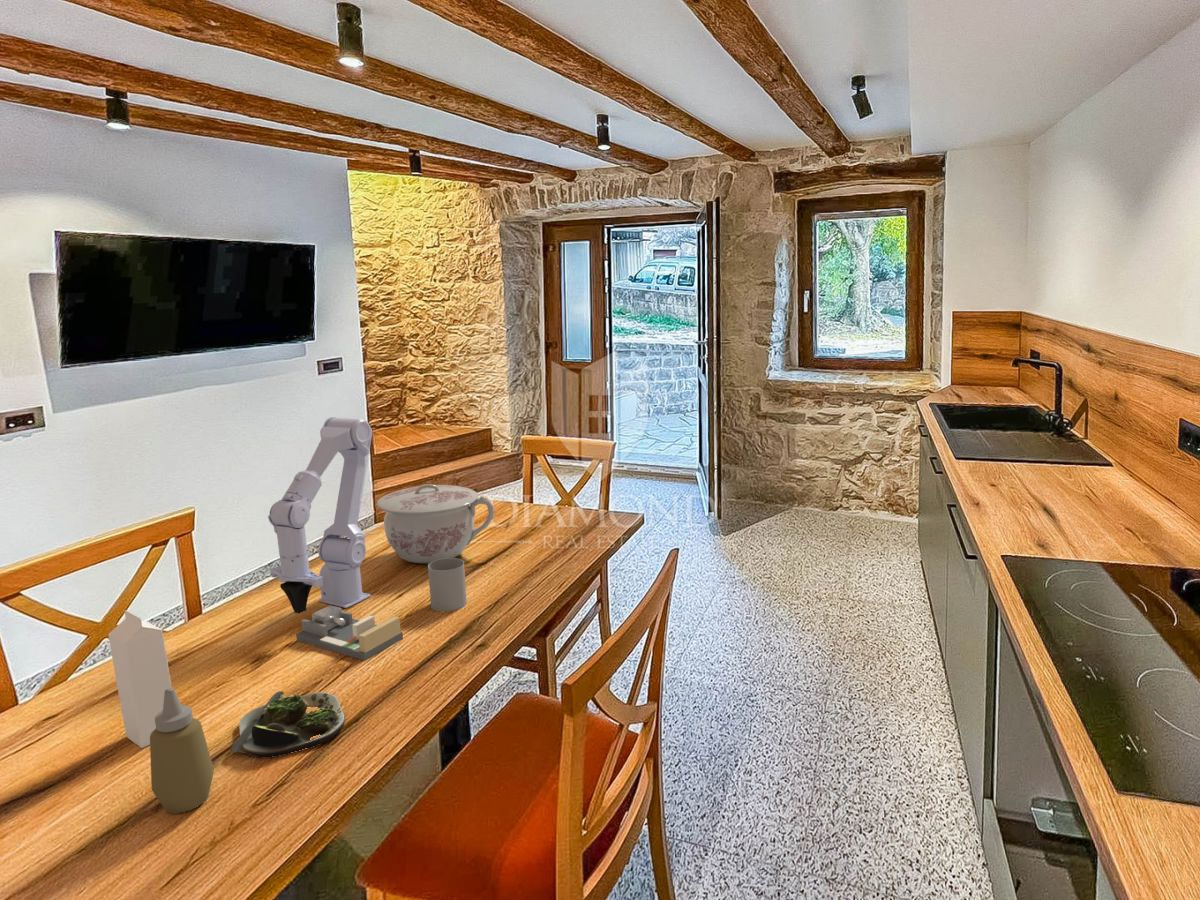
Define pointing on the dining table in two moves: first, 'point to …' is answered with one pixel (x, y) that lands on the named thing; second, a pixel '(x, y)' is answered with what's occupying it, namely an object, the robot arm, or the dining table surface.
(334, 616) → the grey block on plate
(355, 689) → the dining table surface
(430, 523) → the chamber pot
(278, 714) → the salad plate
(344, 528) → the robot arm
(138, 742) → the milk
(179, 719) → the squeeze bottle
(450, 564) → the cup
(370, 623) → the cream thin slab
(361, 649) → the gauge base
